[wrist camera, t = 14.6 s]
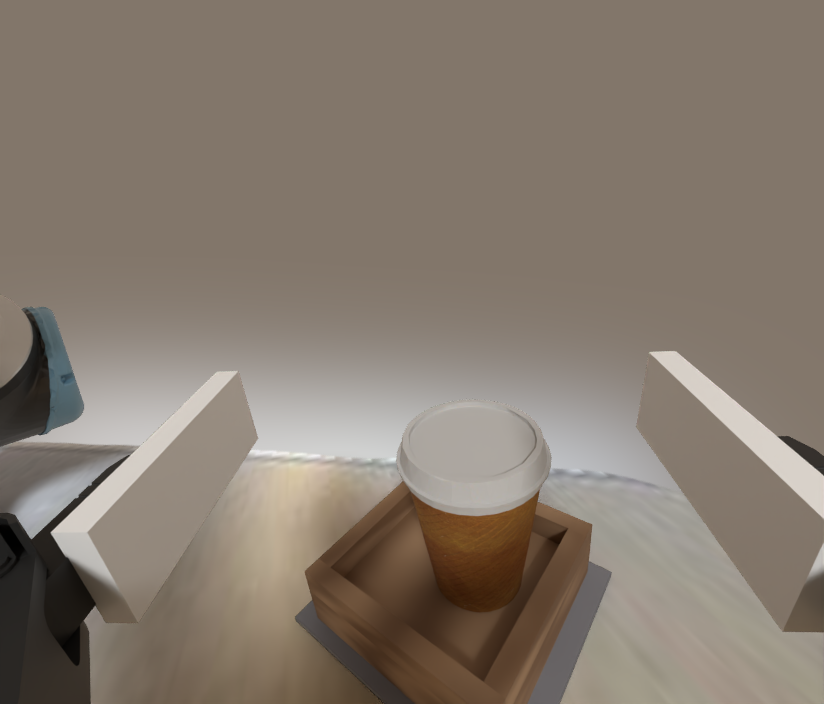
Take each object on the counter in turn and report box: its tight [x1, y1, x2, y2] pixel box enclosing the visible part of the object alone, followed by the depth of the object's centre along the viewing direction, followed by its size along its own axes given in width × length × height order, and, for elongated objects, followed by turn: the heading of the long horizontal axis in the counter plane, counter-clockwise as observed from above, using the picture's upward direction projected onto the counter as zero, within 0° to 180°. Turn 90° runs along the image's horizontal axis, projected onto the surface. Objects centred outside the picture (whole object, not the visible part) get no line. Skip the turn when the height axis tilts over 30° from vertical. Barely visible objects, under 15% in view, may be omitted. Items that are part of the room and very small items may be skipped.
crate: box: [305, 481, 592, 704], centre depth 31 cm, size 15×15×5 cm
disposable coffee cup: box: [396, 400, 551, 612], centre depth 28 cm, size 10×10×12 cm
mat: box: [295, 562, 612, 704], centre depth 32 cm, size 18×17×1 cm
